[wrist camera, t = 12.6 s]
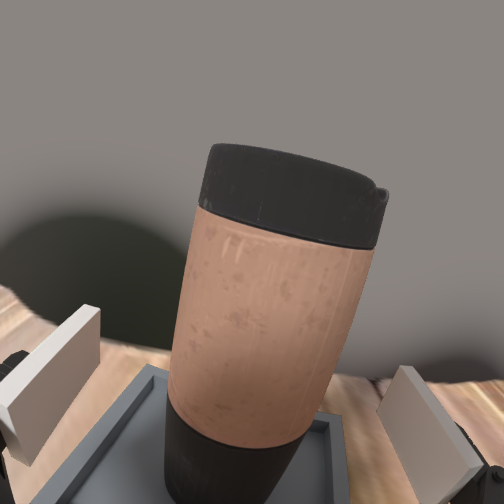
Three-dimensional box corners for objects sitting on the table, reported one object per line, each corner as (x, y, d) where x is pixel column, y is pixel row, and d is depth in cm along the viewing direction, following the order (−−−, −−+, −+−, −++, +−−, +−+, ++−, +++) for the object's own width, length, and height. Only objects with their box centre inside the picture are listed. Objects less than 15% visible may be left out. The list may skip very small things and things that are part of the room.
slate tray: (331, 434, 25) (341, 415, 25) (334, 608, 8) (353, 600, 7) (145, 383, 27) (146, 363, 26) (38, 523, 9) (26, 506, 9)
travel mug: (163, 438, 20) (208, 149, 15) (262, 446, 21) (344, 183, 17) (157, 521, 13) (209, 132, 8) (281, 525, 14) (431, 197, 10)
